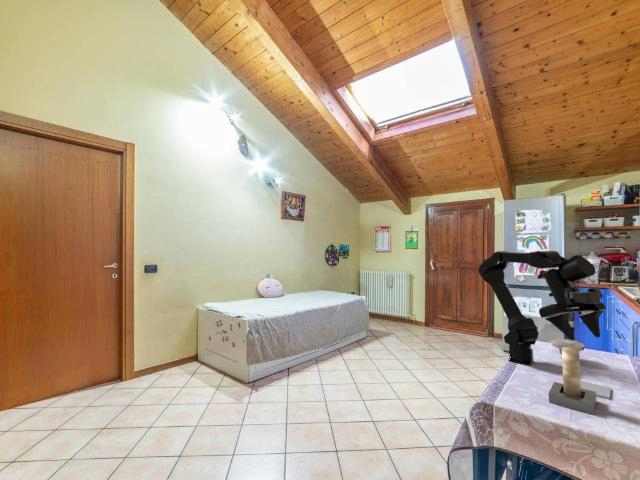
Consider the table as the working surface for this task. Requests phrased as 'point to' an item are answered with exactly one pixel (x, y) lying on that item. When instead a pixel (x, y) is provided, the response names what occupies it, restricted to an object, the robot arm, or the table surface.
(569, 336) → the robot arm
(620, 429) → the table surface
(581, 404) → the eye block
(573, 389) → the peg
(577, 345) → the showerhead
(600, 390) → the mat
